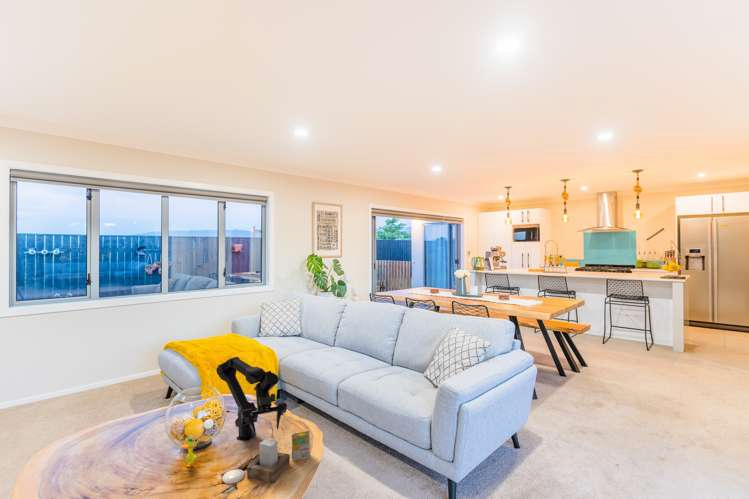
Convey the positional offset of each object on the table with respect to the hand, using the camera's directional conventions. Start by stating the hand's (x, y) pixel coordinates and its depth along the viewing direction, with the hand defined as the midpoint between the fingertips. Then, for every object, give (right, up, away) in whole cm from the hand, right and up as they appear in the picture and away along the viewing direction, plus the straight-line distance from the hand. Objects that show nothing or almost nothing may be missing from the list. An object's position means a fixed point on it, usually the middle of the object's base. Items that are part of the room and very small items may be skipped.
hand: (266, 431), depth 153 cm
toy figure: (-31, -13, -2) cm, 34 cm away
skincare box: (+3, -13, -6) cm, 15 cm away
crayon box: (+14, -13, +3) cm, 19 cm away
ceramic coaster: (-10, -13, -10) cm, 19 cm away
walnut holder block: (+3, -13, -6) cm, 15 cm away
